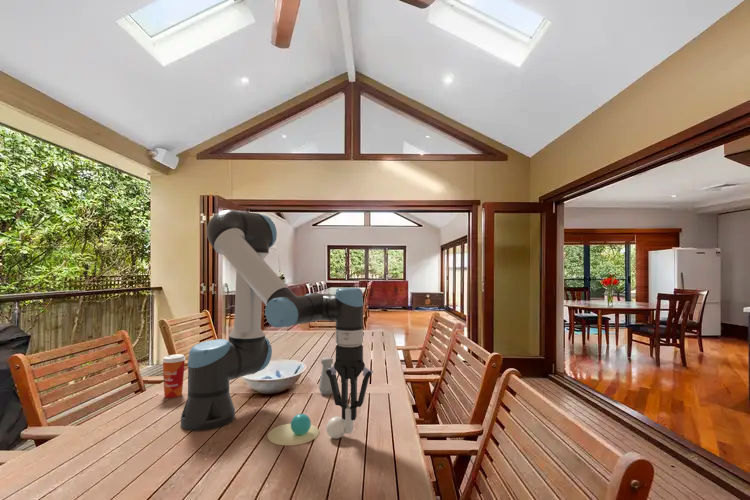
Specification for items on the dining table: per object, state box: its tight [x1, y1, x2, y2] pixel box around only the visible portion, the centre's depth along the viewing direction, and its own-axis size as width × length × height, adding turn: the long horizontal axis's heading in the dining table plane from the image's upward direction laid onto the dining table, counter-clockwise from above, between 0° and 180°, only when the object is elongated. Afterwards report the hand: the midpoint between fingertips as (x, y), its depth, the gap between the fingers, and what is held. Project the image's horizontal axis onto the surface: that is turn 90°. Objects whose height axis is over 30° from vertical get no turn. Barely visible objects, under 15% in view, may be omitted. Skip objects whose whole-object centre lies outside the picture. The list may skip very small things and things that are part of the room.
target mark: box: [267, 422, 320, 447], centre depth 108 cm, size 14×14×1 cm
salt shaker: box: [318, 356, 334, 396], centre depth 142 cm, size 6×6×13 cm
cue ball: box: [326, 416, 346, 439], centre depth 106 cm, size 6×6×6 cm
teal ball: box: [290, 413, 312, 435], centre depth 108 cm, size 6×6×6 cm
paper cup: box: [161, 353, 186, 399], centre depth 139 cm, size 8×8×14 cm
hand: (349, 431), depth 105 cm, fingers closed
